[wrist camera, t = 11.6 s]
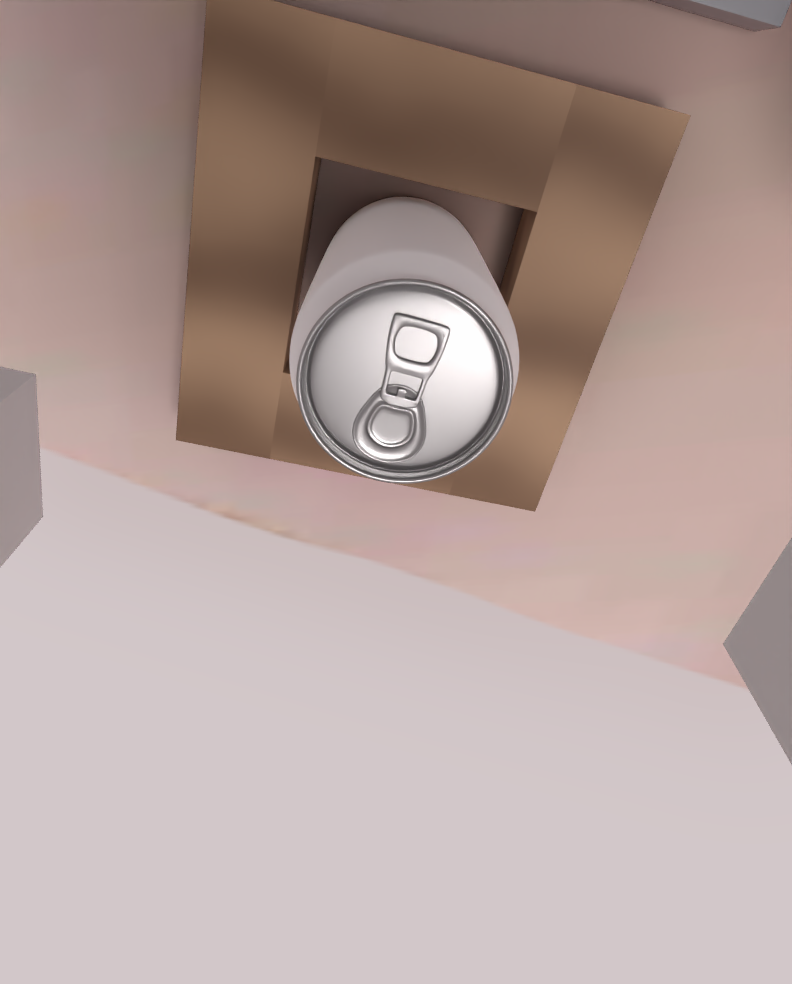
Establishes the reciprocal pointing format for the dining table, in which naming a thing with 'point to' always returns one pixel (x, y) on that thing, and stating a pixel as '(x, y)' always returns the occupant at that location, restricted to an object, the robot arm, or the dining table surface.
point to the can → (403, 345)
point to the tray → (737, 11)
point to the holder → (418, 157)
